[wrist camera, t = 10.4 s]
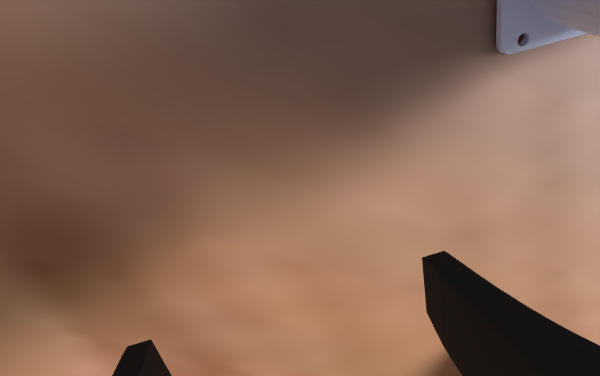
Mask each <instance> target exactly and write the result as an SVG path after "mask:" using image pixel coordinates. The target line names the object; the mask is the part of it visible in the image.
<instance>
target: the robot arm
mask: <svg viewBox="0 0 600 376" xmlns="http://www.w3.org/2000/svg"><path fill="white" fill-rule="evenodd" d="M587 33H589V34H593V35H597V36H600V0H497V27H496V46H497V49H498V51H499V52H502V53H504V54H506V55H510V54H514V53H518V52H522V51H525V50H529V49H533V48H536V47H540V46H543V45H547V44H551V43H554V42H558V41H562V40H565V39H569V38H573V37H576V36H580V35H583V34H587ZM521 34H523V35H524V37H523V40H522V41H521V42H520V43H518V42H517V41H518V38H519V36H520V35H521ZM422 262H423V274H424V286H425V298H426V310H427V314H428V316H429V318H430V320H431V322H432V324H433V326H434V328H435V330H436V332H437V334H438V336H439V338H440V340H441V342H442V344H443V346H444V348H445V349H446V351H447V352H448V354H449V356H450V357H451V359H452V360H453V362H454V363H455V365H456V366H457V368H458V370H459V371H460V373H461V374H462V376H600V346H599V345H597V344H595V343H593V342H591V341H589V340H587V339H585V338H583V337H581V336H579V335H577V334H575V333H573V332H571V331H570V330H568V329H566V328H564V327H562V326H560V325H558V324H557V323H555V322H553V321H551V320H550V319H548V318H546V317H544V316H543V315H541V314H539V313H537V312H536V311H534V310H532V309H531V308H529V307H527V306H526V305H524V304H522V303H521V302H519V301H518V300H516V299H515V298H513V297H511V296H510V295H508V294H507V293H505V292H504V291H502V290H500V289H499V288H497V287H496V286H494V285H493V284H491V283H490V282H488V281H487V280H486V279H484V278H483V277H481V276H480V275H478V274H477V273H475V272H474V271H472V270H471V269H470V268H468V267H467V266H465V265H464V264H463V263H461V262H460V261H458V260H457V259H456V258H454V257H453V256H451V255H450V254H449V253H447V252H445V251H442V252H439V253H436V254H432V255H429V256H426V257H423V258H422ZM112 376H171V374H170V372H169V370H168V369H167V367H166V365H165V363H164V362H163V360H162V358H161V356H160V354H159V353H158V351H157V349H156V347H155V346H154V344H153V342H152V340H148V341H144V342H141V343H138V344H134V345H131V346H128V347H127V348H126V350H125V351H124V353H123V355H122V357H121V359H120V361H119V363H118V365H117V367H116V369H115V371H114V373H113V375H112Z"/></svg>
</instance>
